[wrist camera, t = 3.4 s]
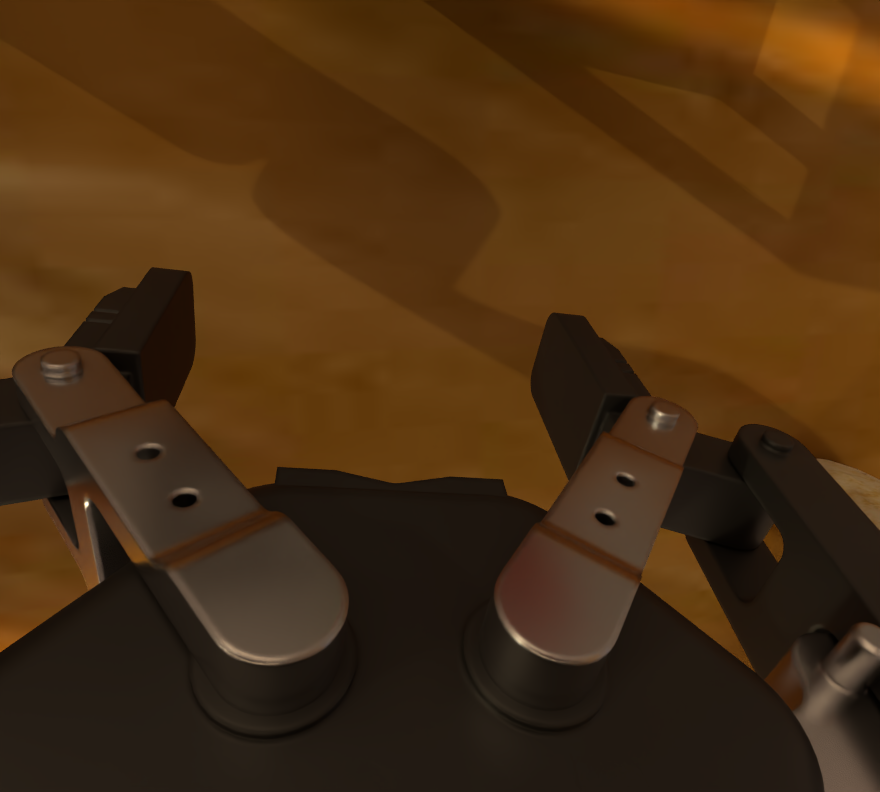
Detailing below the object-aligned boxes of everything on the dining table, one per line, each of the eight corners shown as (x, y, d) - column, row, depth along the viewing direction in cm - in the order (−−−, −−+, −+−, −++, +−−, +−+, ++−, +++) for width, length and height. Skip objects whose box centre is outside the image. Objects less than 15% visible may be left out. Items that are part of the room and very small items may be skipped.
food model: (852, 437, 51) (1114, 581, 32) (843, 508, 53) (1083, 681, 34) (737, 449, 51) (933, 601, 32) (732, 520, 53) (913, 701, 34)
